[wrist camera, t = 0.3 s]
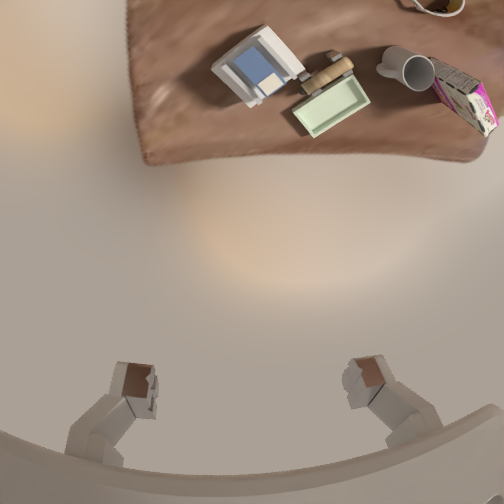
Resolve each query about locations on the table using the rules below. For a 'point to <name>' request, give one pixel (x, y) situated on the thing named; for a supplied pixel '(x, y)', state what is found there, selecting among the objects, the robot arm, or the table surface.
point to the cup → (407, 68)
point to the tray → (331, 105)
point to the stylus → (326, 76)
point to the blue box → (259, 71)
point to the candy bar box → (464, 96)
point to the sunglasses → (452, 9)
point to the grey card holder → (270, 51)
